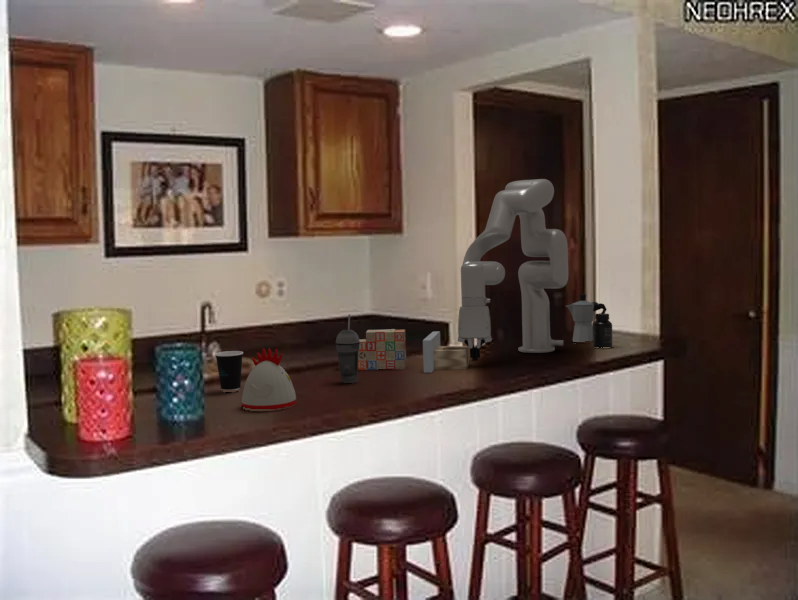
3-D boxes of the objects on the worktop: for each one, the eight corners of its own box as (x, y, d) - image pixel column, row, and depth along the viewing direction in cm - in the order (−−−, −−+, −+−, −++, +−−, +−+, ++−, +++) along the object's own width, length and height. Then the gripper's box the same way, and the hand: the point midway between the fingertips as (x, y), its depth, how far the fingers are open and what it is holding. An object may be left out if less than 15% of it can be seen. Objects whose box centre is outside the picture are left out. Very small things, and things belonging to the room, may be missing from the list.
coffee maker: (566, 344, 307) (565, 295, 305) (565, 341, 315) (564, 293, 314) (608, 343, 304) (607, 294, 303) (606, 340, 313) (605, 292, 311)
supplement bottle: (612, 346, 298) (611, 312, 297) (612, 349, 291) (612, 314, 290) (592, 346, 299) (592, 313, 298) (592, 349, 293) (592, 315, 292)
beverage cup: (350, 379, 249) (347, 312, 247) (366, 381, 243) (364, 313, 242) (331, 382, 243) (328, 314, 242) (348, 385, 238) (345, 316, 237)
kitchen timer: (286, 412, 205) (284, 352, 204) (233, 412, 208) (230, 352, 207) (302, 400, 219) (300, 344, 218) (252, 400, 221) (250, 344, 220)
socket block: (469, 364, 269) (468, 346, 268) (466, 369, 259) (465, 350, 259) (438, 364, 271) (437, 346, 270) (434, 369, 261) (433, 350, 260)
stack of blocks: (338, 370, 265) (337, 332, 264) (341, 367, 271) (340, 330, 270) (405, 369, 263) (404, 331, 262) (406, 366, 270) (405, 328, 269)
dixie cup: (247, 388, 239) (245, 350, 238) (242, 393, 231) (240, 354, 231) (219, 389, 239) (217, 351, 238) (213, 394, 231) (211, 355, 231)
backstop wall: (440, 361, 277) (440, 331, 276) (431, 372, 255) (430, 340, 254) (433, 361, 277) (432, 331, 276) (423, 372, 256) (422, 340, 255)
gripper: (498, 300, 264) (499, 358, 266) (451, 301, 267) (453, 358, 268) (496, 303, 257) (498, 361, 258) (448, 304, 259) (450, 362, 261)
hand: (475, 360), depth 263 cm, fingers closed
